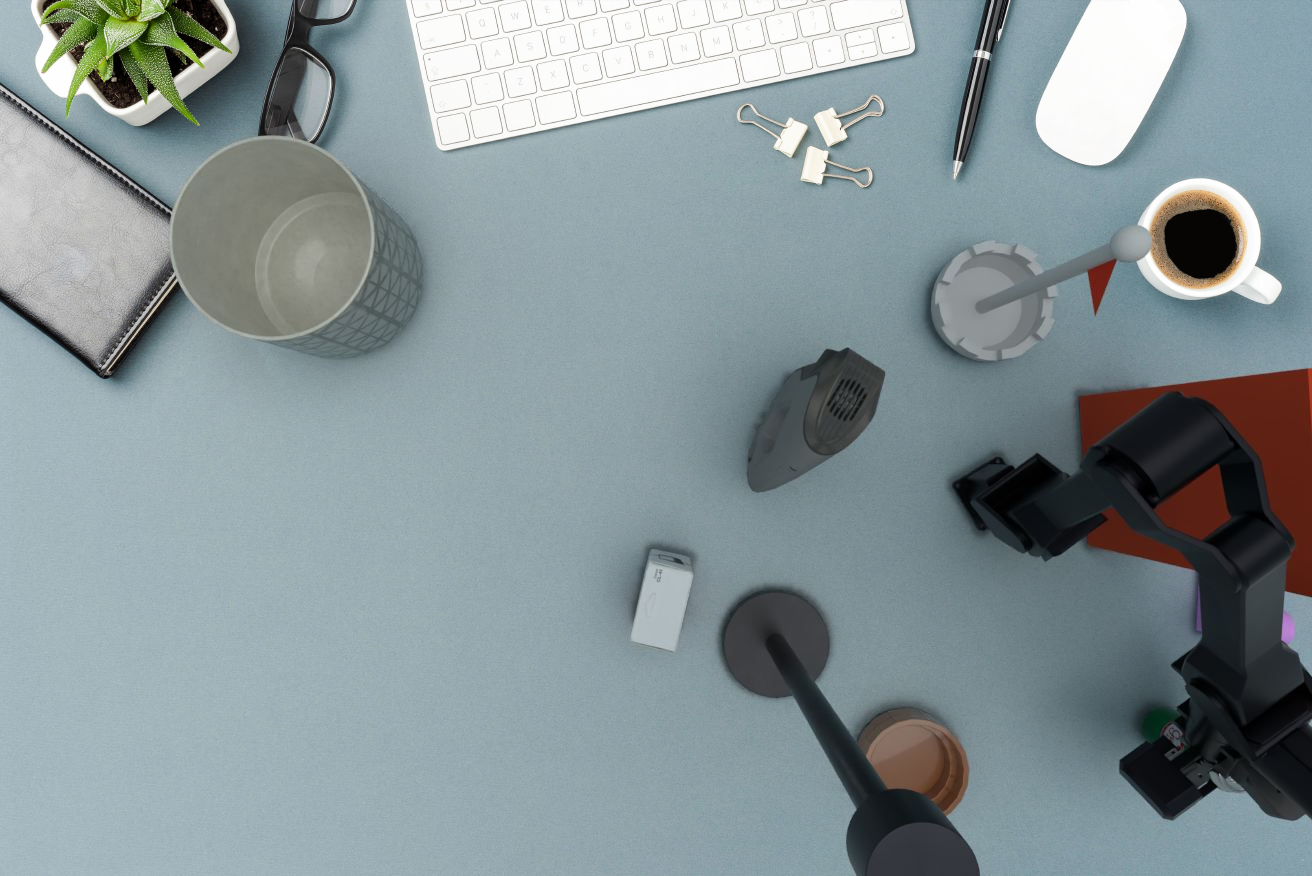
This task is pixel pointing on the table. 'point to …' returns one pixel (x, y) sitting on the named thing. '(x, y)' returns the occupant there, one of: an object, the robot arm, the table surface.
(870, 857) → the desk lamp
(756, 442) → the handheld device
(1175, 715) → the soda can
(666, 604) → the ink box
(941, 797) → the bowl
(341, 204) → the planter
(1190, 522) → the file binder
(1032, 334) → the flag stand
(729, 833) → the table surface
